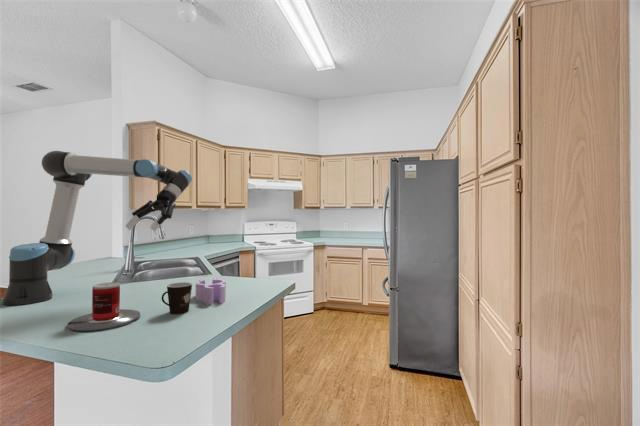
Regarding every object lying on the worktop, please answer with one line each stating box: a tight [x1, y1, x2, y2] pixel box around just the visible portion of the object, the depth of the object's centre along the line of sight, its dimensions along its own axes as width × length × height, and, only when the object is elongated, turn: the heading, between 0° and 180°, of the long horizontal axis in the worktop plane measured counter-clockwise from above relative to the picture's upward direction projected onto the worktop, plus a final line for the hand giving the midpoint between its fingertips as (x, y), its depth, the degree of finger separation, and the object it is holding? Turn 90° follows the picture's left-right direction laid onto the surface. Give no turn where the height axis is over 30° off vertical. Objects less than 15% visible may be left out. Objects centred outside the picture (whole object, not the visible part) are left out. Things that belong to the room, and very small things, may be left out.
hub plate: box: [67, 308, 141, 333], centre depth 104 cm, size 20×20×1 cm
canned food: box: [91, 281, 121, 321], centre depth 105 cm, size 8×8×11 cm
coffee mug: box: [161, 281, 193, 315], centre depth 114 cm, size 12×9×10 cm
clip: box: [195, 277, 227, 306], centre depth 134 cm, size 20×12×7 cm, turn 30°
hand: (139, 228), depth 130 cm, fingers open, 13 cm apart
